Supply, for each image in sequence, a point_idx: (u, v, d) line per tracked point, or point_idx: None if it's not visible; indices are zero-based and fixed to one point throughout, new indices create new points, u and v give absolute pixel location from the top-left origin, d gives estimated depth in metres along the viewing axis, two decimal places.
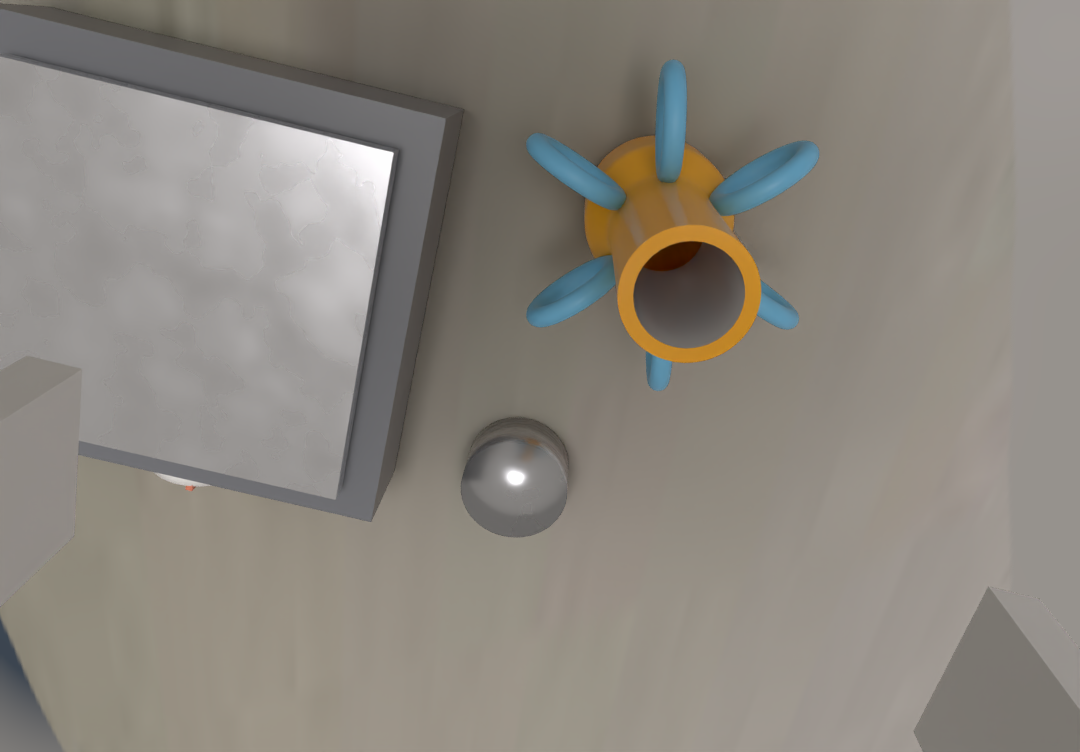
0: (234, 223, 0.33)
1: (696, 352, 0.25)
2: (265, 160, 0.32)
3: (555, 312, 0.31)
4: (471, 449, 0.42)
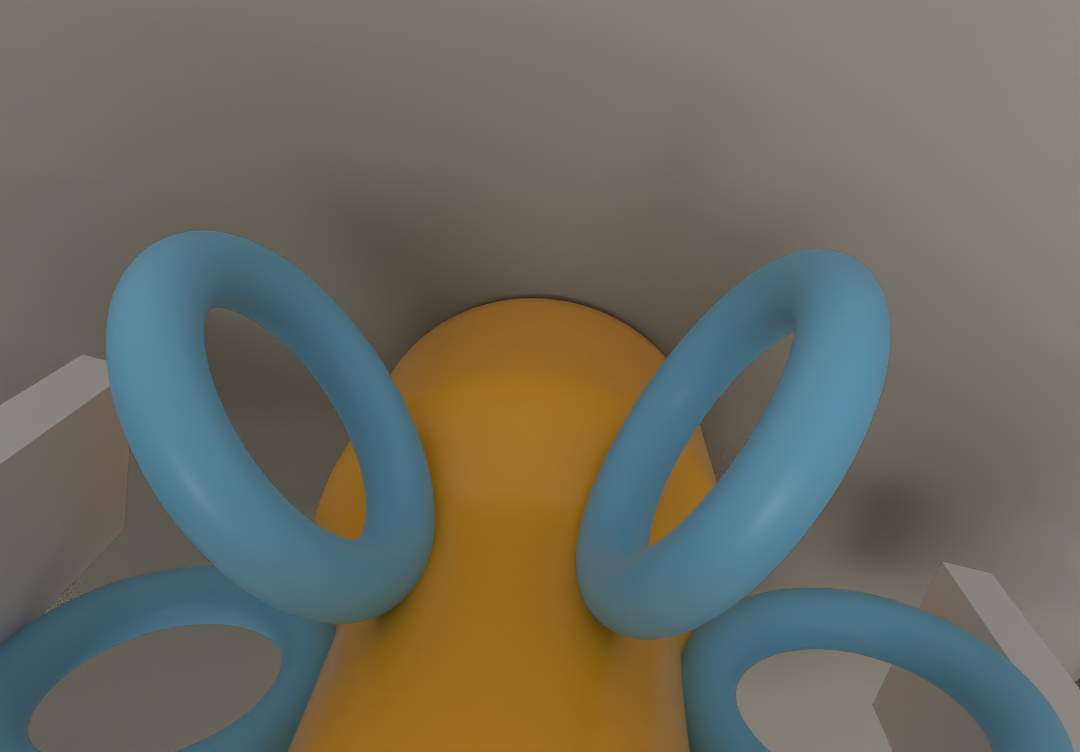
0: None
1: None
2: None
3: None
4: None
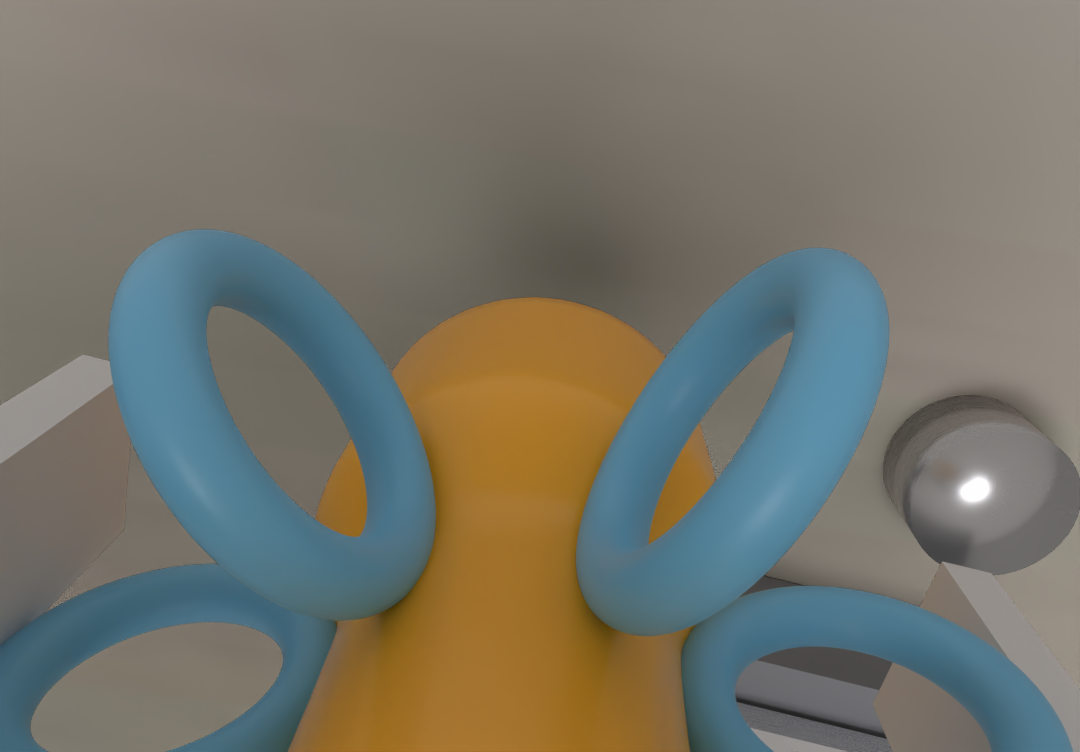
0: None
1: None
2: None
3: None
4: None
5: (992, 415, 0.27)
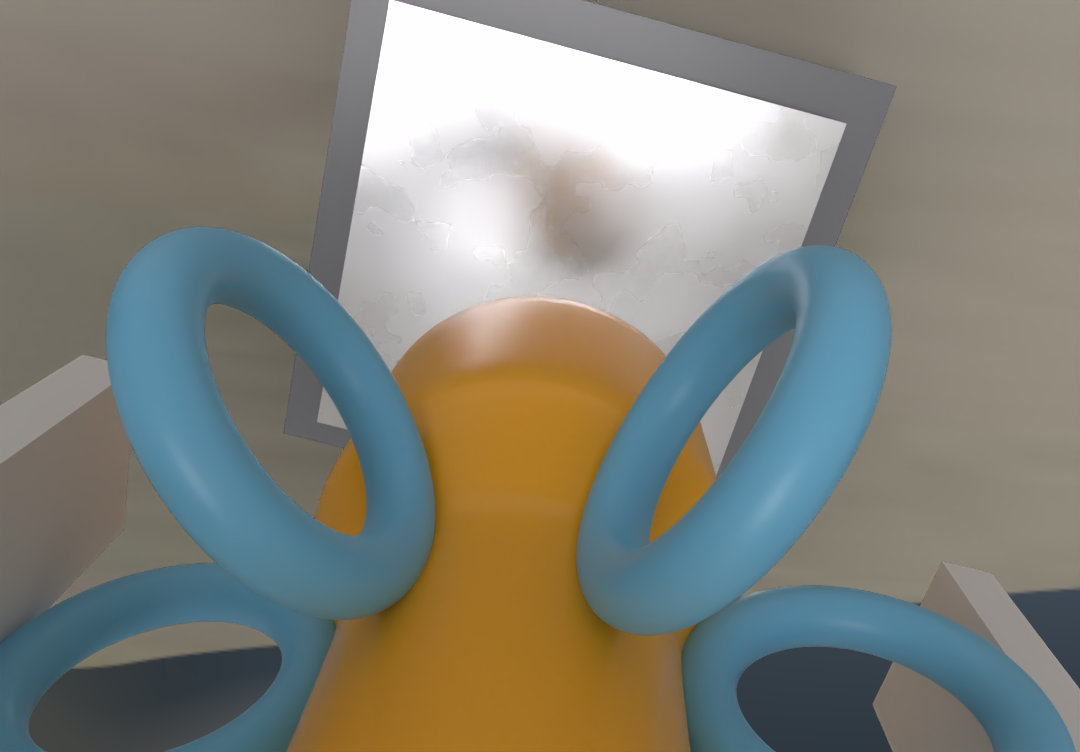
0: (477, 204, 0.29)
1: None
2: (405, 158, 0.29)
3: None
4: None
5: None
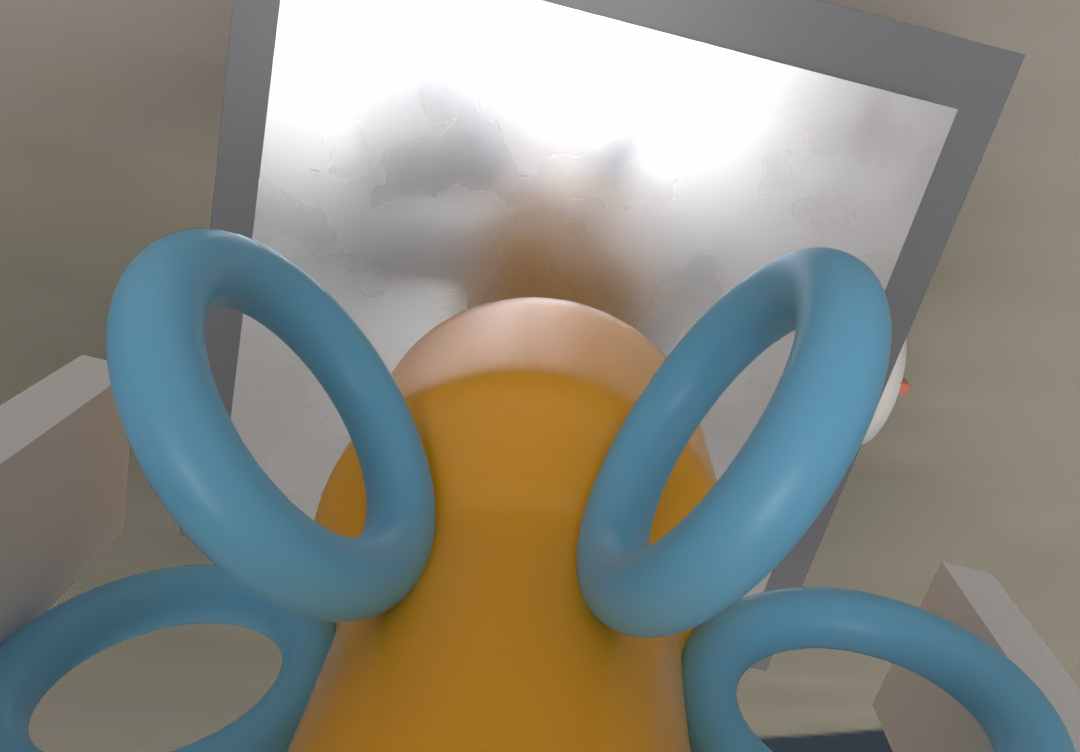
0: (426, 231, 0.21)
1: None
2: (321, 166, 0.20)
3: None
4: None
5: None
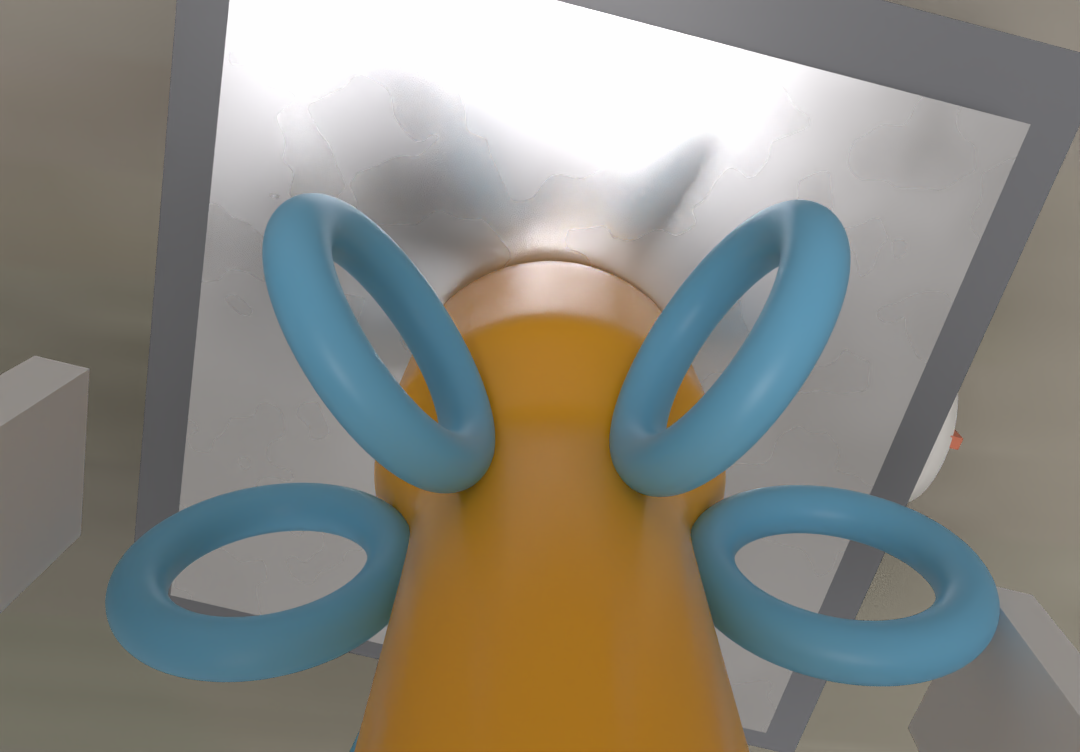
0: None
1: None
2: (281, 189, 0.17)
3: None
4: None
5: None
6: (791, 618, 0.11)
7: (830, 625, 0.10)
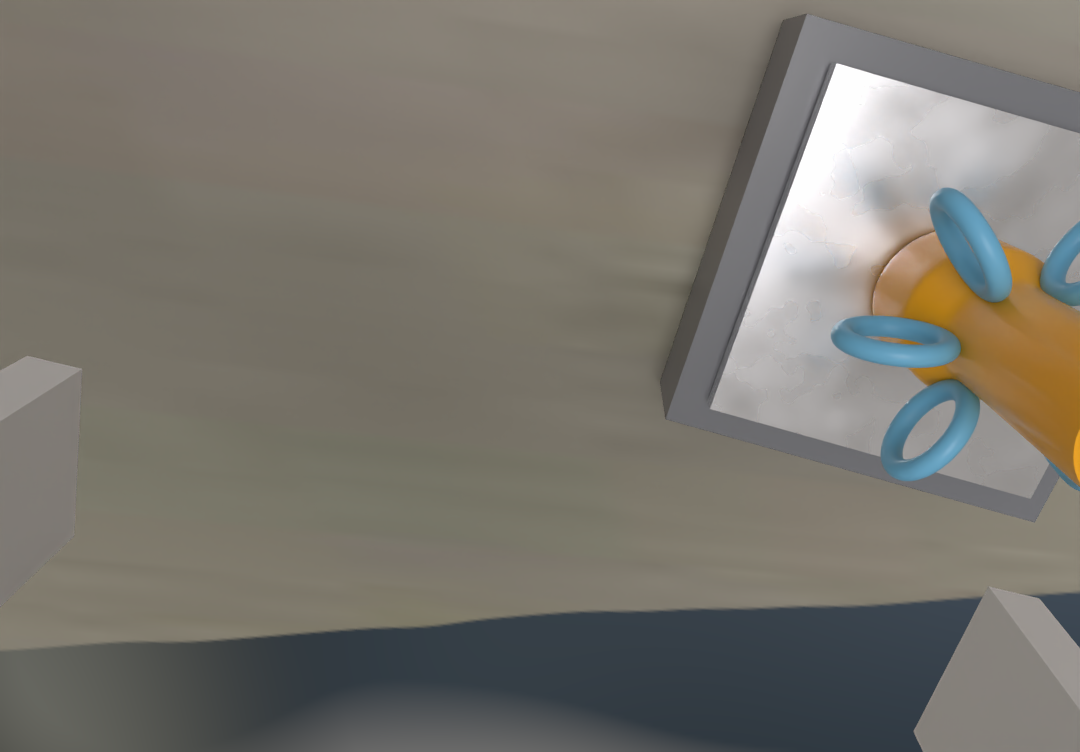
0: (881, 229, 0.35)
1: None
2: (826, 190, 0.35)
3: None
4: None
5: None
6: None
7: None
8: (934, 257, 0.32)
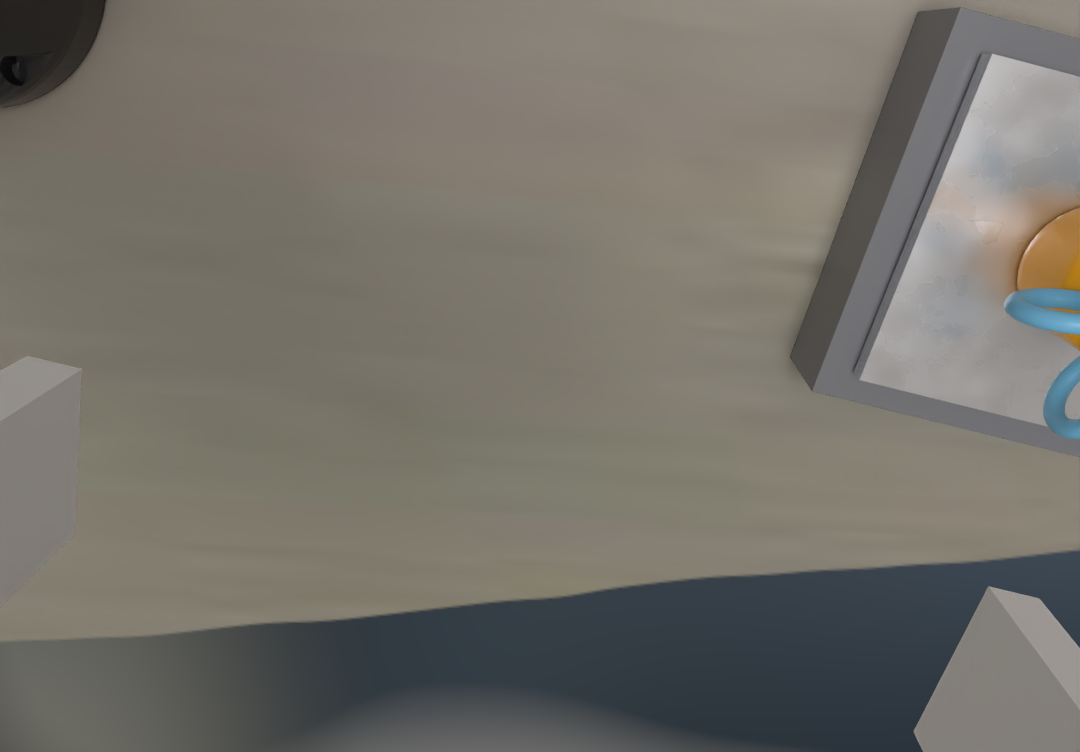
0: (1027, 207, 0.38)
1: None
2: (977, 172, 0.37)
3: None
4: None
5: None
6: None
7: None
8: None
